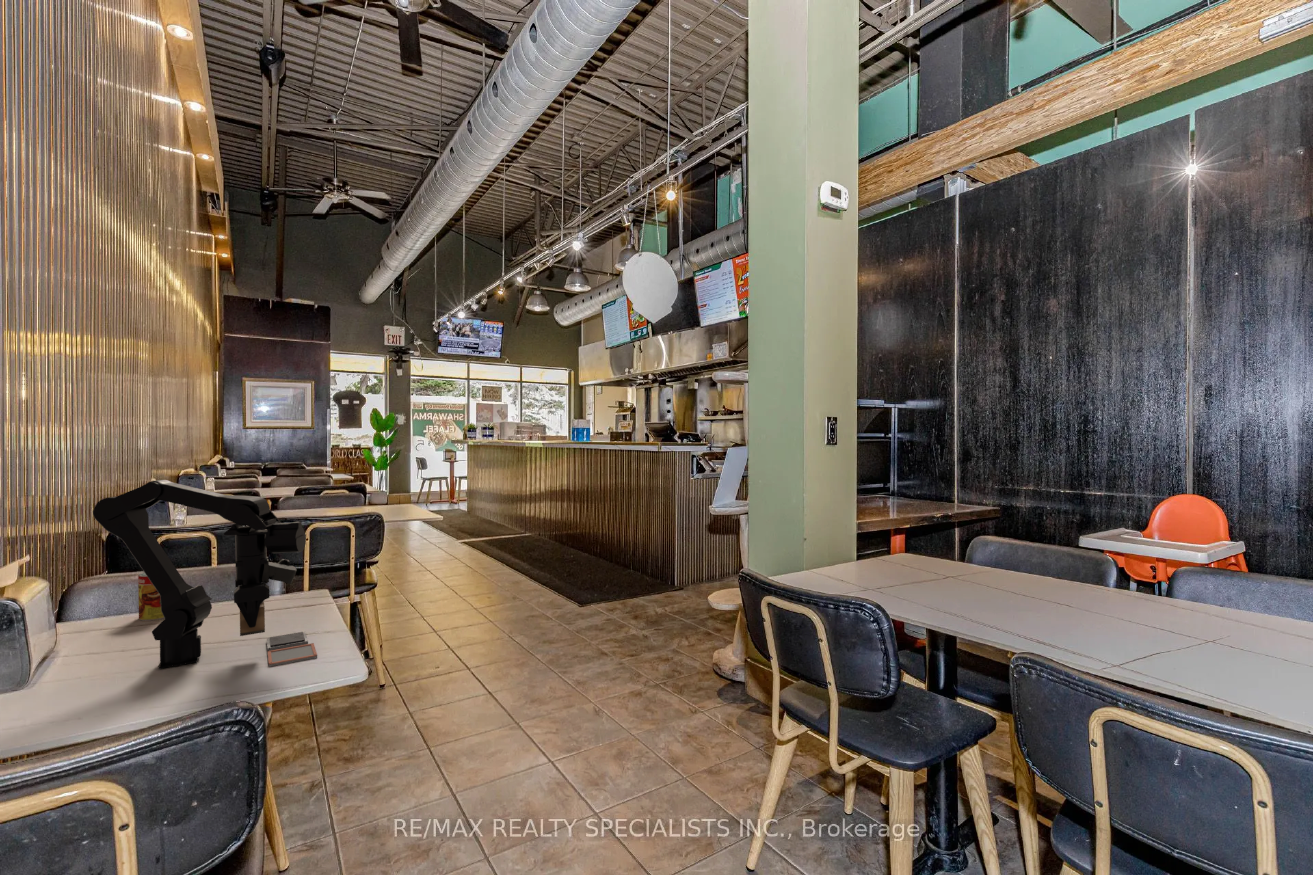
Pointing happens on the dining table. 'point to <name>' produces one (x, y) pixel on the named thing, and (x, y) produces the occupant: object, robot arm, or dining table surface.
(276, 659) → the tile
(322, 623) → the dining table surface
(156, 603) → the canned food
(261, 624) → the stamp
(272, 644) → the pad
